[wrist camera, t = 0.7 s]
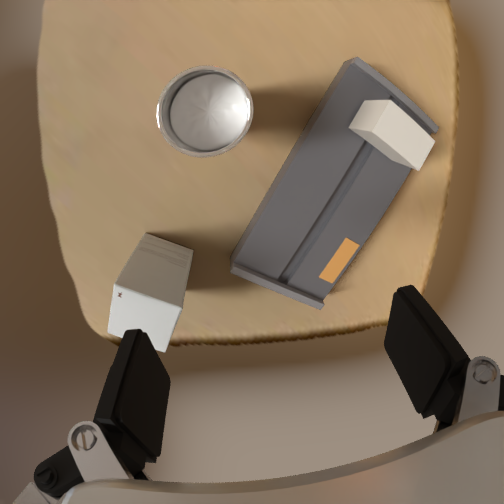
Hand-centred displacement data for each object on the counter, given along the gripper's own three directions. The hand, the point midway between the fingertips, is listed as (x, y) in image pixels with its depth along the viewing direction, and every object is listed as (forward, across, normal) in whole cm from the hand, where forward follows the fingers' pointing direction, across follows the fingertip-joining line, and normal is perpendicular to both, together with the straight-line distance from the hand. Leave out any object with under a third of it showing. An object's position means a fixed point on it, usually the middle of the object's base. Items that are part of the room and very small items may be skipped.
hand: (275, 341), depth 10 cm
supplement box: (+27, +13, +10) cm, 32 cm away
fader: (+25, -16, -4) cm, 30 cm away
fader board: (+27, -11, +3) cm, 29 cm away
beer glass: (+28, +2, -8) cm, 29 cm away
